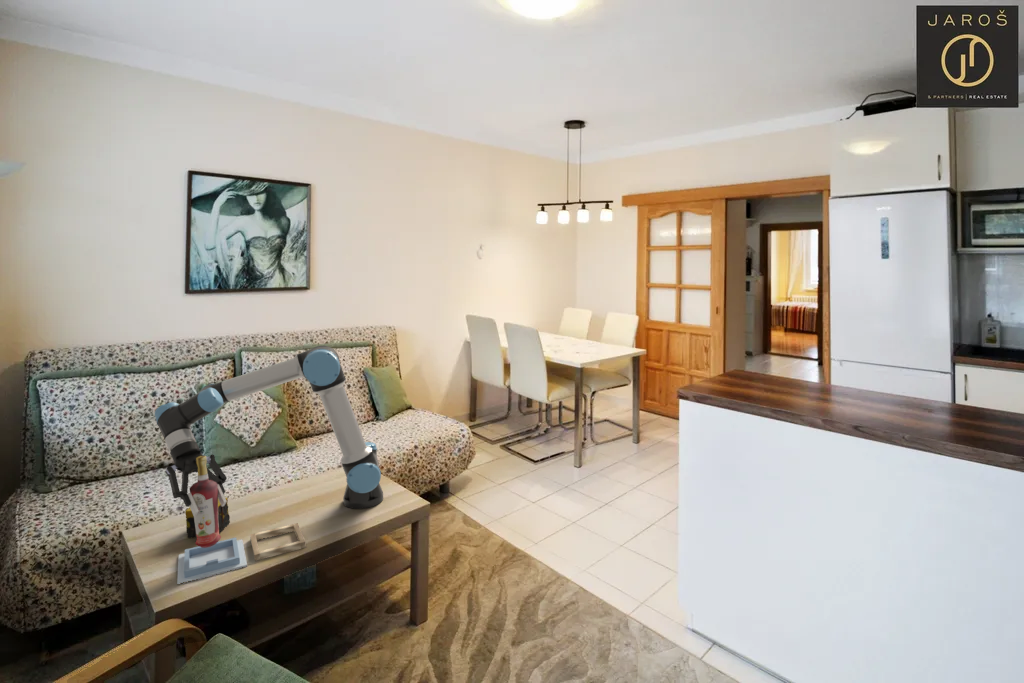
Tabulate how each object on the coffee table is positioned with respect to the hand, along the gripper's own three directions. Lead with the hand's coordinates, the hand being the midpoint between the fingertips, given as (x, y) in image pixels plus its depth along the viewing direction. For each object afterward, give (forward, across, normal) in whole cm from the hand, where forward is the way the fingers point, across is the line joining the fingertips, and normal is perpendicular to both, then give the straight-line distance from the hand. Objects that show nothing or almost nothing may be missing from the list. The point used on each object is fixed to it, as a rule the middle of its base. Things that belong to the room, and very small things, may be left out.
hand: (210, 508), depth 156 cm
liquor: (+7, 0, -12) cm, 13 cm away
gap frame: (+15, -18, -10) cm, 26 cm away
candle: (-4, -9, -31) cm, 32 cm away
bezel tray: (+11, 0, -15) cm, 19 cm away
